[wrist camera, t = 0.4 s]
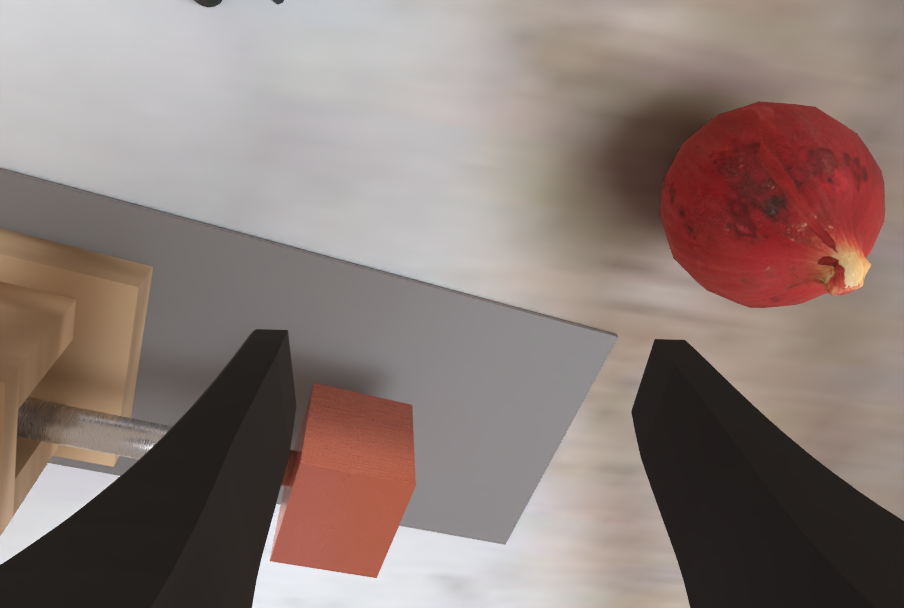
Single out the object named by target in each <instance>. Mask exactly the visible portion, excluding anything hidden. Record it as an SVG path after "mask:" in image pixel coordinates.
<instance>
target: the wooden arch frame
mask: <svg viewBox="0 0 904 608" xmlns="http://www.w3.org/2000/svg"><path fill="white" fill-rule="evenodd" d="M152 271H153V267H152V266H148V265H144V264H141V263H137V262H133V261H129V260H125V259H121V258H117V257H113V256H109V255H105V254H101V253H97V252H93V251H89V250H85V249H81V248H77V247H73V246H69V245H65V244H61V243H57V242H53V241H49V240H45V239H41V238H37V237H33V236H29V235H25V234H21V233H17V232H13V231H9V230H5V229H1V228H0V536H1V534H2V533H3V531H4V530H5V528H6V526H7V525H8V523H9V522H10V520H11V519H12V517H13V516H14V514H15V513H16V511H17V509H18V508H19V506H20V505H21V503H22V502H23V500H24V499H25V497H26V496H27V494H28V492H29V491H30V489H31V488H32V486H33V485H34V483H35V482H36V480H37V479H38V477H39V475H40V474H41V472H42V471H43V469H44V468H45V466H46V465H47V463H48V461H49V460H50V458H51V457H52V456H57V457H63V458H68V459H74V460H79V461H85V462H90V463H96V464H101V465H107V466H112V467H114V465H115V463H116V462H117V460H118V458H119V456H118V455H113V454H108V453H102V452H97V451H91V450H86V449H81V448H75V447H70V446H65V445H59V444H54V443H48V442H43V441H38V440H32V439H27V438H21V437H17V421H18V409H19V408H20V406H21V405H22V404H23V403H24V401H25V400H26V399H27V397H28V398H33V399H38V400H43V401H48V402H53V403H58V404H63V405H68V406H73V407H78V408H83V409H88V410H93V411H98V412H103V413H108V414H113V415H118V416H123V417H128V418H131V414H132V407H133V400H134V394H135V387H136V380H137V373H138V366H139V359H140V353H141V346H142V339H143V332H144V325H145V319H146V312H147V305H148V298H149V291H150V285H151V278H152Z"/></svg>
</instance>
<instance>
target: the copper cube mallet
mask: <svg viewBox="0 0 904 608" xmlns="http://www.w3.org/2000/svg"><path fill="white" fill-rule="evenodd" d="M172 427H173V426H169V425H164V424H158V423H153V422H148V421H143V420H138V419H133V418H128V417H123V416H118V415H113V414H108V413H103V412H98V411H93V410H88V409H83V408H78V407H73V406H68V405H63V404H58V403H53V402H48V401H43V400H38V399H33V398H28V397H27V399H26V400H25V401H24V403H23V404H22V405H21V406H20V408H19V409H18V421H17V437H21V438H27V439H32V440H38V441H43V442H48V443H54V444H59V445H65V446H70V447H75V448H81V449H86V450H91V451H97V452H102V453H108V454H113V455H118V456H124V457H129V458H135V459H140V458H141V457H142V456H144V455H145V454H146V453H147V452H148V451H149V450H150V449H151V448H152V447H153V446H154V445H155V444H156V443H157V442H158V441H159V440H160V439H161V438H162V437H163V436H164V435H165V434H166V433H167V432H168V431H169V430H170V429H171V428H172ZM281 486H284V490H283V495H282V500H281V506H280V511H279V516H278V521H277V526H276V532H275V537H274V542H273V547H272V552H271V557H270V561H273V562H279V563H285V564H292V565H298V566H304V567H310V568H317V569H323V570H329V571H336V572H342V573H348V574H355V575H361V576H367V577H373V578H377V576H378V573H379V571H380V569H381V566H382V564H383V562H384V559H385V557H386V555H387V552H388V550H389V548H390V545H391V543H392V541H393V538H394V536H395V534H396V531H397V529H398V527H399V524H400V522H401V520H402V517H403V515H404V513H405V510H406V508H407V506H408V503H409V501H410V499H411V496H412V494H413V492H414V489H415V487H416V476H415V453H414V431H413V408H412V405H411V404H407V403H402V402H398V401H393V400H389V399H384V398H380V397H375V396H371V395H366V394H362V393H357V392H353V391H349V390H344V389H340V388H335V387H331V386H326V385H322V384H317V383H314V385H313V388H312V391H311V394H310V398H309V401H308V404H307V408H306V411H305V414H304V418H303V421H302V424H301V428H300V431H299V434H298V438H297V441H296V444H295V448H294V450H290V454H289V457H288V461H287V465H286V469H285V473H284V476H283V480H282V484H281Z"/></svg>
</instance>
